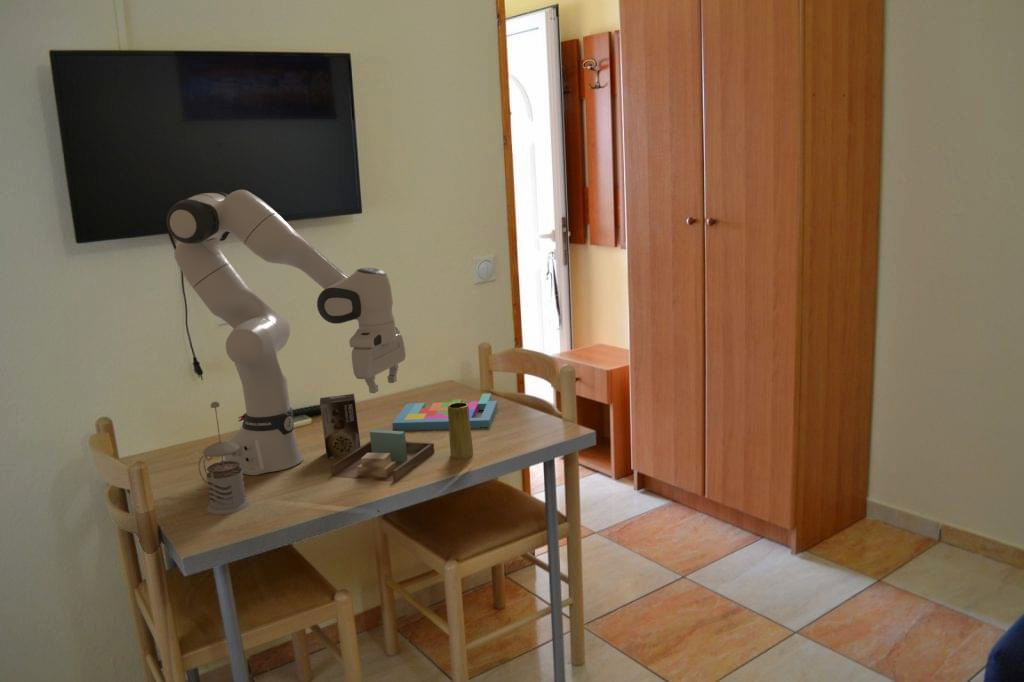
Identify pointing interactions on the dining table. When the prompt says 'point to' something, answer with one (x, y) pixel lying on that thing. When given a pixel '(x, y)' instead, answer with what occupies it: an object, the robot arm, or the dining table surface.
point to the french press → (224, 478)
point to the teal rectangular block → (389, 444)
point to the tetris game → (443, 415)
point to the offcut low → (377, 470)
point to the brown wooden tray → (414, 457)
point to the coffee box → (340, 425)
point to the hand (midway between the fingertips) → (383, 387)
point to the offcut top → (376, 459)
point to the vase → (460, 431)
